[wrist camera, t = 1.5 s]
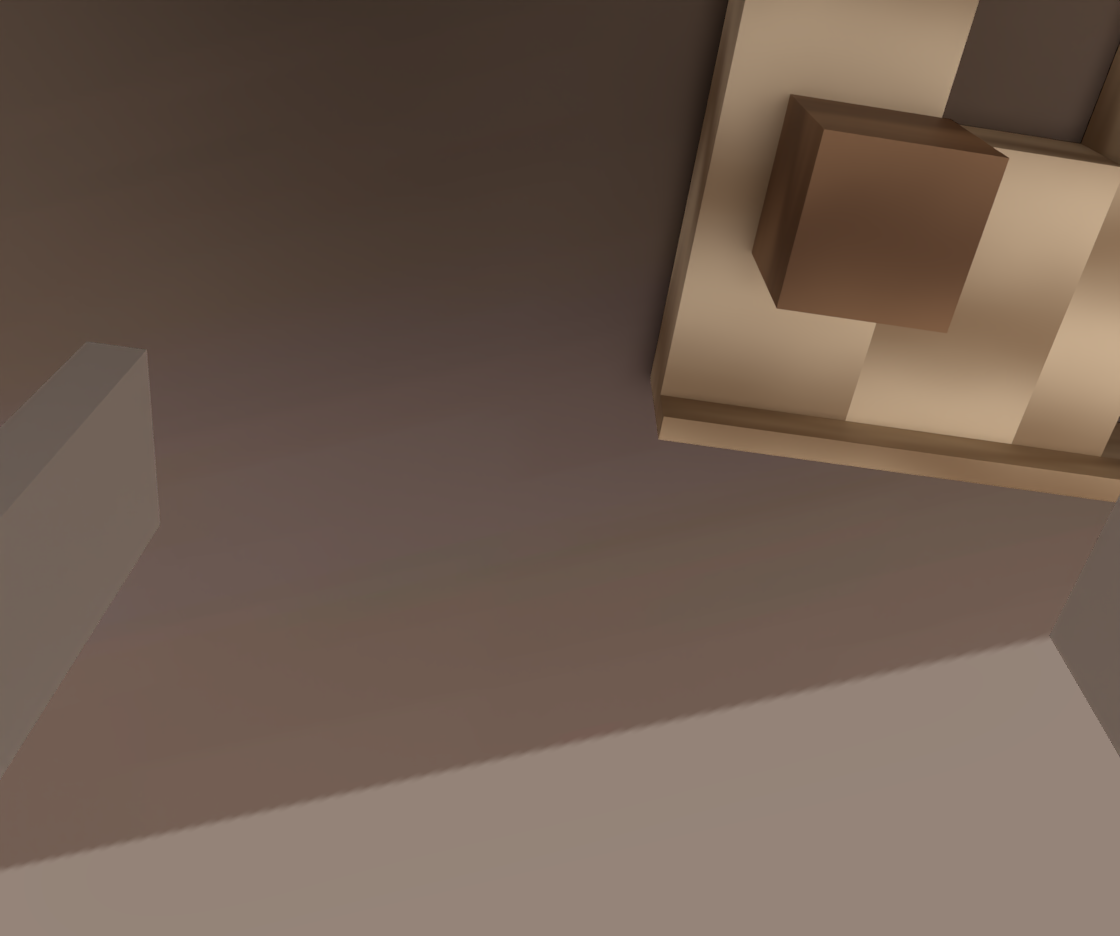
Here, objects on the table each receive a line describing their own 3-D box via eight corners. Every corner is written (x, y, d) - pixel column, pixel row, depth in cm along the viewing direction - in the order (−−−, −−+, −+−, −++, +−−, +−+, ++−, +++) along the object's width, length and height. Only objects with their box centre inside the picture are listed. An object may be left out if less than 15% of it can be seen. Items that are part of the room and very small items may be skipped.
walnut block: (790, 93, 28) (824, 128, 24) (950, 119, 28) (1009, 157, 24) (751, 252, 30) (776, 308, 26) (900, 274, 31) (946, 333, 27)
